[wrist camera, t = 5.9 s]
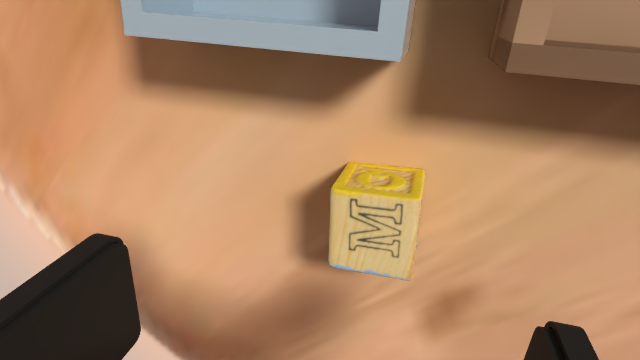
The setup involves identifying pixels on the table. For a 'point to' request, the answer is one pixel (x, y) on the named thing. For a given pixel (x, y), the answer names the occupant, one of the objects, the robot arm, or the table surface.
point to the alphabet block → (375, 219)
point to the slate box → (280, 24)
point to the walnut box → (569, 39)
